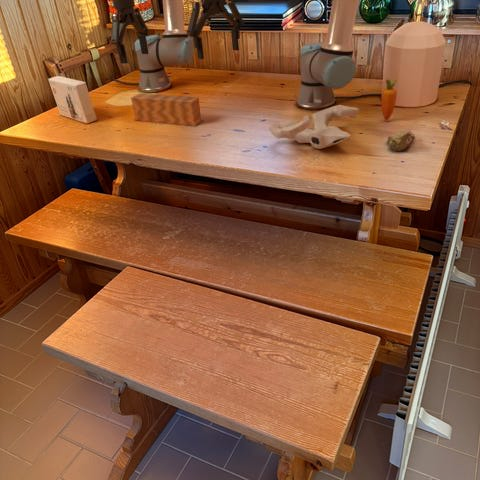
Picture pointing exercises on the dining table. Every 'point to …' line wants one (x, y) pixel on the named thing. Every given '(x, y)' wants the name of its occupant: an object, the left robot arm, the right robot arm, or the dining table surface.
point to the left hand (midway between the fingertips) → (135, 58)
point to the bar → (167, 109)
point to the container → (414, 63)
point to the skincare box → (72, 99)
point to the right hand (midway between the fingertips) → (218, 54)
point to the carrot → (388, 99)
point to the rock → (400, 140)
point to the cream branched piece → (316, 128)
